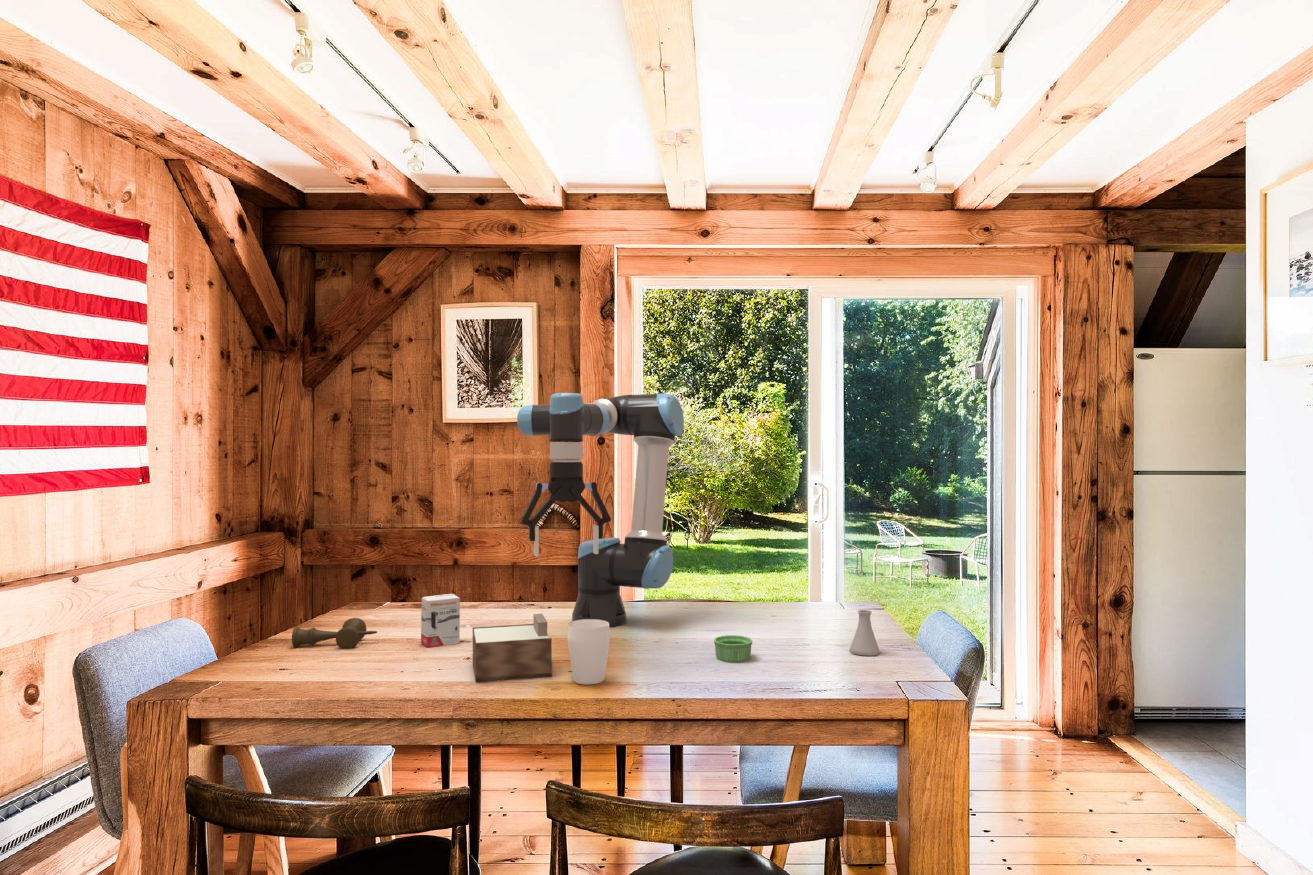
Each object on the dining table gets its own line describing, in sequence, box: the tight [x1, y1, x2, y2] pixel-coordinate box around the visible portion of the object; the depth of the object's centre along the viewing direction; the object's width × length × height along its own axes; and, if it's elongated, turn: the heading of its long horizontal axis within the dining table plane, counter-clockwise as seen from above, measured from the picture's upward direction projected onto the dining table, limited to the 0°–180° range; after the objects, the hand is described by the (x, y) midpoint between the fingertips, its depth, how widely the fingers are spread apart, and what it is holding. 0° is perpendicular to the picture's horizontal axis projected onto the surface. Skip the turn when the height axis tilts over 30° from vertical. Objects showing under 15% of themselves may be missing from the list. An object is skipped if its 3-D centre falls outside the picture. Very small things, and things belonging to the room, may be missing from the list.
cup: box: [566, 619, 611, 686], centre depth 172 cm, size 9×9×12 cm
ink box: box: [420, 593, 461, 649], centre depth 203 cm, size 8×5×12 cm, turn 123°
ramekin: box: [713, 634, 753, 663], centre depth 190 cm, size 9×9×4 cm
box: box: [472, 623, 553, 683], centre depth 180 cm, size 16×15×8 cm
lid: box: [474, 613, 551, 643], centre depth 180 cm, size 16×13×4 cm
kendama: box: [291, 617, 378, 650], centre depth 202 cm, size 6×10×20 cm
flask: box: [849, 609, 881, 657], centre depth 194 cm, size 7×7×10 cm
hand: (566, 554), depth 184 cm, fingers open, 13 cm apart
